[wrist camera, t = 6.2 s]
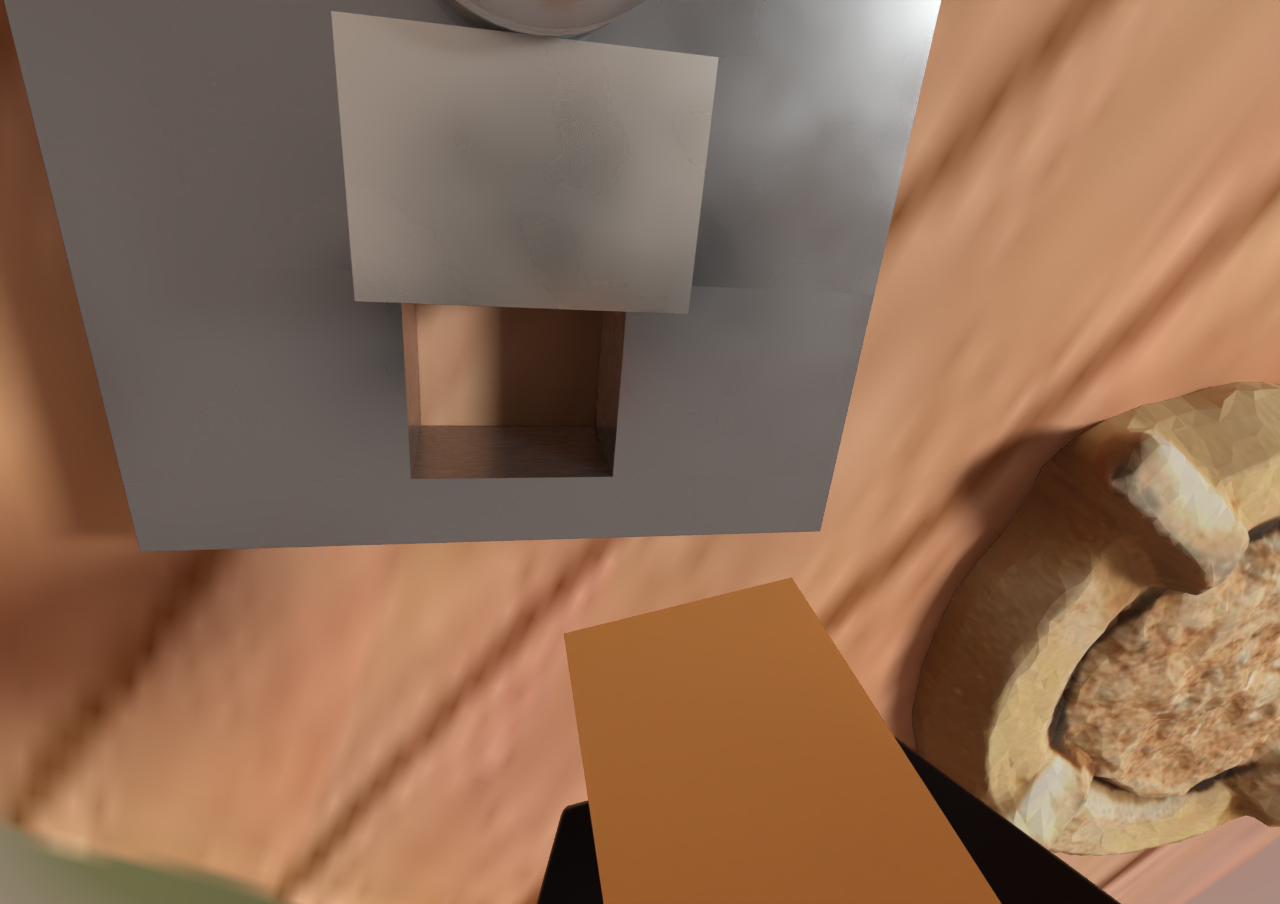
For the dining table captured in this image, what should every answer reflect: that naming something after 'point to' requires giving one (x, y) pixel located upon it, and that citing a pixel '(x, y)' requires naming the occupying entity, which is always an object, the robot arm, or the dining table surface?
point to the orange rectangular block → (750, 765)
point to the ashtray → (1124, 635)
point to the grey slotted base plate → (471, 250)
